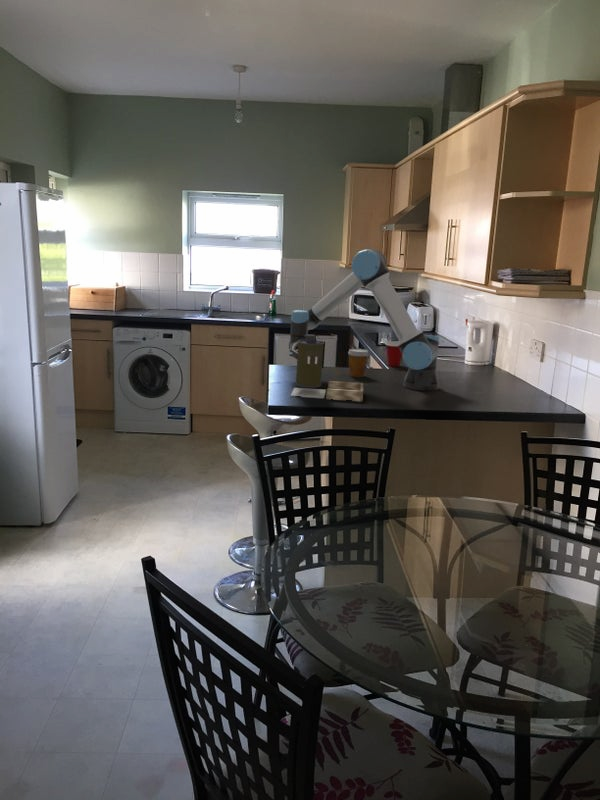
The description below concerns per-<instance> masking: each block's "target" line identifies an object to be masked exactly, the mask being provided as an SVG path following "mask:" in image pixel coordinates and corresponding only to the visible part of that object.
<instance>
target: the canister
mask: <svg viewBox="0 0 600 800" xmlns="http://www.w3.org/2000/svg"><path fill="white" fill-rule="evenodd" d="M304 336H306V340H299V341H298V356H297V359H296V374H295V375H296V376H295V377H296V380H295V385H296V386H298V387H300V388H308V389H315V388H320V387H322V370H323V369H324V368H325V366H324V365H325V353H326V352H325V351H326V349H325V348H326V341H325V340H318V339H317V336H316V335H315V334H308V335H304ZM308 356H309V357H310V364H308ZM315 357H317V364H315Z"/></svg>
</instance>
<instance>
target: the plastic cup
mask: <svg viewBox="0 0 600 800" xmlns="http://www.w3.org/2000/svg"><path fill="white" fill-rule="evenodd" d="M398 342H399V340H398V341H397V340H395V341H394V340H391V341H386V342H384V345H385V348H386V355H387V356H386V357H387V365H388V366H389V367H397V368H398V367H400V365H401V361H402V359H403V356H402V352H401V350H400V349H399V347H398Z"/></svg>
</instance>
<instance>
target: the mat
mask: <svg viewBox="0 0 600 800" xmlns="http://www.w3.org/2000/svg"><path fill="white" fill-rule="evenodd" d="M326 393H327V389H321V388H319V389H318V388H309V387H294V388H293V390H292V391H291V394H290V397H295V396H301V397H300V398H313V399H325V397H326V396H325V395H326Z"/></svg>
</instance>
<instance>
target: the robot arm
mask: <svg viewBox="0 0 600 800" xmlns="http://www.w3.org/2000/svg"><path fill="white" fill-rule="evenodd" d="M351 270H352V271H351V273H349V274H348V275H347V276H346V277H345V278H343V279H342V280H341V281H340V282H339V283H338V284H337V285H336V286H335V287H333V288H332V289H331V290H330V291H329V292H327V294H326V295H325V296H323V297H322V298H321V299H320V300H319V301H318V302H317V303H315V304H314V305H313V306H312V307H311V308H310V309H308V310H302V309H297V310H296V309H295V310H292V311H291V317H290V334H289V335H290V337H289V341H288V348H289V349H288V350H289V356H290V357H292V358H294V359H295V360H297V356H298V341H299V340H306V336H304V335H309V334H308V333H309V331H310V330H311V331H312V330H314V329H316V328H317V327H318V326H319V325H320V323H321V322H323V321H324V320H325V319H326V318H327V317H328V316H330V315H331V314H332V313H333V312H334V311H335V310H336V309H337V308H339V307H340V306H341V305H342V304H344V303H345V302H346V301H347V300H349V298H351V297H352V296H353V295H354V294H355V293H357V292H358V291H359V290H360V289H362V288H363V287H364V288H365V289H367V290H370V292H371V294H372V295H373V297H374V299H375V301H376V302H377V304H378V305H379V307H380V309H381V311H382V313H383V315H384V316H385V318H386V320H387V322H388V323H389V325H390V327H391V329H392V330H393V332H394V333H395V336H396V338H397V339H398V341H399V342H398V347H399V349H400V350H401V352H402V359H403V362H404V364H405V365H406V366H407V367H408V370H407V373H406V375H405V377H404V380H403V387H404V388H406V389H411V390H415V391H424V390H428V391H427V392H429V391H437V390H439V387H440V383H439V378H438V373H437V366H438V365H437V363H438V354H439V345H440V338H439V336H438V335H432V334H431V335H430V334H425V333H424V331H423V330H420V329H418V328H417V327H416V325H415V323H414V321H413V319H412V318H411V316H410V314H409V312H408V310H407V308H406V307H405V305H404V304H403V302H402V300H401V298H400V296H399V294H398V292H397V291H396V289H395V288H394V286H393V284H392V283H391V281H390V271H389V270H388V268H387V258H386V256H385V255H384V254H383V253H382V252H381V251H379V250H377V249H362V250H360V251H358V252H357V253H356V254H355V255H353V258H352V260H351ZM308 364H310V357H309V356H308ZM315 364H317V357H315Z"/></svg>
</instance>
